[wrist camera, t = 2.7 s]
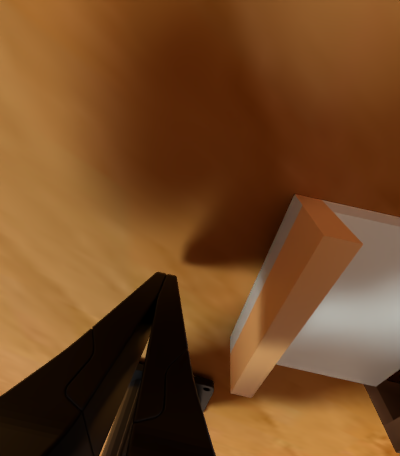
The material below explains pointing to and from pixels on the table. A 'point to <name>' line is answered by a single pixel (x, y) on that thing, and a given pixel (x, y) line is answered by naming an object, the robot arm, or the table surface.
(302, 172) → the table surface
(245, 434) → the table surface
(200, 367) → the table surface
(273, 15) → the table surface
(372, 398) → the taupe rectangular slab
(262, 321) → the plate
